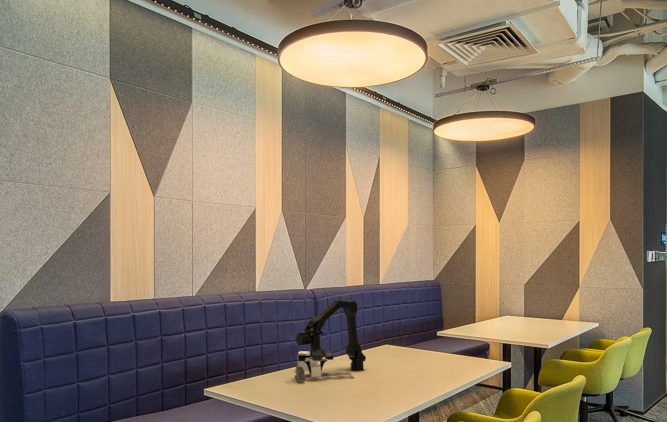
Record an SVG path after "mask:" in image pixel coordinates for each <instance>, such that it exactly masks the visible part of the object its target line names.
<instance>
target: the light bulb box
mask: <svg viewBox="0 0 667 422" xmlns="http://www.w3.org/2000/svg"><path fill="white" fill-rule="evenodd" d="M298 354H305V355H310V350H308V351H307V350H306V351H305V350H304V351H303V350H301V351H300V350H299V352H297V355H298ZM309 361H310V365H317V364H319V360H316V361H314V360H313V359H309ZM297 366H302V368H303V369H304V371H305V372H309V370H308V367H307V364H306V363H304V361H298V360H297Z"/></svg>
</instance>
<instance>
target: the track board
mask: <svg viewBox="0 0 667 422" xmlns="http://www.w3.org/2000/svg"><path fill="white" fill-rule="evenodd" d="M305 372H306V371H304V369H303V368H302V366H298V365H296V366H295V375H294V379H295V381H296V380H297V381H296V383H297V384H300V385H301V384H305V382H317V381H319V382H320V381H334V380H336V381H339V380H352V379H353V380H354V379H355V377H354V376H353V375H352V374H351V372H349V371H335V372H333V371H332V372H321V377H310V373H305Z"/></svg>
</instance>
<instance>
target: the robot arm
mask: <svg viewBox="0 0 667 422" xmlns="http://www.w3.org/2000/svg"><path fill="white" fill-rule="evenodd" d="M340 308H342V310H343V313H344V315H345V317H346V324H347V334H348V343H347V345H345V354H346V355H347V356H348V359H349V360H350V361H351V362H350V371H351V372H354V371H355V372H361V371H364V362H366V358H367V357H366V356H365V354H364V353H363V351H362V350H363V349H362V347H361V345H360V343H359V341H358V331H357V320H356V316H357V313H358V308H359V307H358V302H357V301H355V300H344V301H343V300H339V299H335V300H334V301H333V302H332V303H331V304H330V305H329V306H328V307H326V308H325V309H324V310H323V311H322V312H321V313H320V314H318V315H316V316H314V317H312V318H311V319H309V320H308V321H307V325H306V327H305V329H304V330H303V331H298V332H297V335H296V338H295V342H296V344H297V346H299V347H300V346H307V345H309V351H310V355H305V354H298V353H297V355H296V360H297V362H298V361H304V363H306V364H307V367H308V370H309V371H308V374H311V368H310V361H309V359H313V360H314V361H316V360H318V361H319V365H320V366H321V372H322V371H323V368H324V365H325V364H326V362H328V361H331V360H334V354H333V353H332V352H326V349H321V347H322V346H321V335H324V334H325V333H324V332H323V331H322V329H323V328H324V326H325V324H326V322H327V320H329V319H330V318H331V317H332V316H333V315H334V314H335V313H337V312H338V310H339V309H340Z"/></svg>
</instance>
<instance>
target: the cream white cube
mask: <svg viewBox="0 0 667 422" xmlns="http://www.w3.org/2000/svg"><path fill="white" fill-rule="evenodd" d="M310 368H311V374H310V373H309V374H310V377H321V373H322V371H321V366H320V363H318V364H317V365H310Z"/></svg>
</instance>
